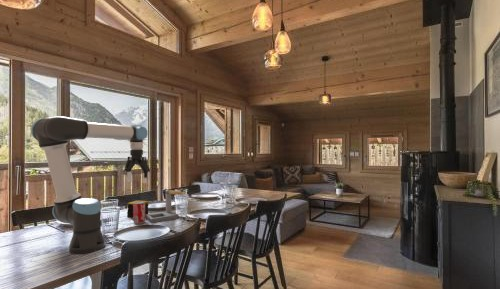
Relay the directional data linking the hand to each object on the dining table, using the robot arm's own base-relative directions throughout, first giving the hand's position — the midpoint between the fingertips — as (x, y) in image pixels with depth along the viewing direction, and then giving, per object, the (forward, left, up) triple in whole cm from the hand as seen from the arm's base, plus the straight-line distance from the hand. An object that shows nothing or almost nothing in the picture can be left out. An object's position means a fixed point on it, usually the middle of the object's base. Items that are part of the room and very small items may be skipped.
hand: (136, 182), depth 176 cm
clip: (+25, +1, -10) cm, 27 cm away
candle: (+4, +17, -26) cm, 32 cm away
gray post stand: (+16, +2, -26) cm, 31 cm away
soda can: (+1, 0, -26) cm, 26 cm away
